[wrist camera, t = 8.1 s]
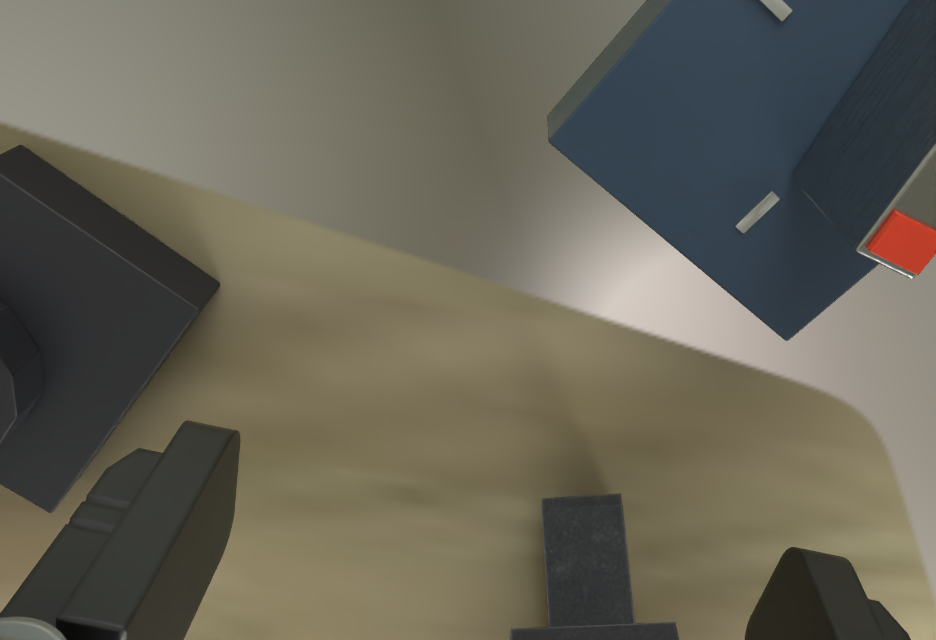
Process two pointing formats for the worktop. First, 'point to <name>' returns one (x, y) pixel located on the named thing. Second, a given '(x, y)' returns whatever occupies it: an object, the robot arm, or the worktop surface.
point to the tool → (589, 574)
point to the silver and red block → (884, 150)
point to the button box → (77, 323)
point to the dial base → (728, 138)
